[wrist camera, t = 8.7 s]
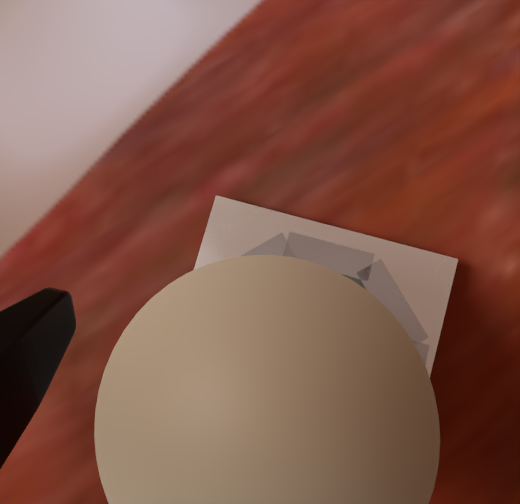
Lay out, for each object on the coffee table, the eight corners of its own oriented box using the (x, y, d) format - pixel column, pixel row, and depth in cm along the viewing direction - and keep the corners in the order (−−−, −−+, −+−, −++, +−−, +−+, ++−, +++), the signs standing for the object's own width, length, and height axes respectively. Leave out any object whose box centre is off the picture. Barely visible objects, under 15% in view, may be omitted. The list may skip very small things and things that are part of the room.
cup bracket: (391, 508, 17) (423, 574, 13) (150, 430, 18) (102, 467, 14) (451, 261, 18) (500, 243, 14) (219, 200, 19) (195, 165, 15)
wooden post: (351, 392, 17) (464, 614, 4) (258, 398, 17) (98, 619, 4) (341, 299, 17) (416, 240, 5) (252, 307, 18) (90, 268, 5)
